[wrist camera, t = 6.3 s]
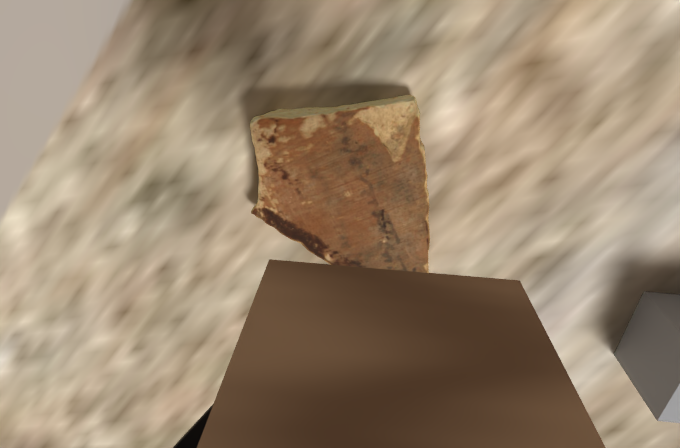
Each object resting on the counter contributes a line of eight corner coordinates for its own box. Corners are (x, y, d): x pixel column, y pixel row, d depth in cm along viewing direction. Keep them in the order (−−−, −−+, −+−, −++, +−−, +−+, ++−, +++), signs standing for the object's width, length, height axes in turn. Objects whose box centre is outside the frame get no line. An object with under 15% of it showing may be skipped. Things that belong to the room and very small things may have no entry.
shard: (429, 305, 22) (433, 329, 21) (284, 313, 23) (277, 336, 22) (421, 89, 17) (426, 98, 16) (237, 109, 18) (223, 120, 17)
